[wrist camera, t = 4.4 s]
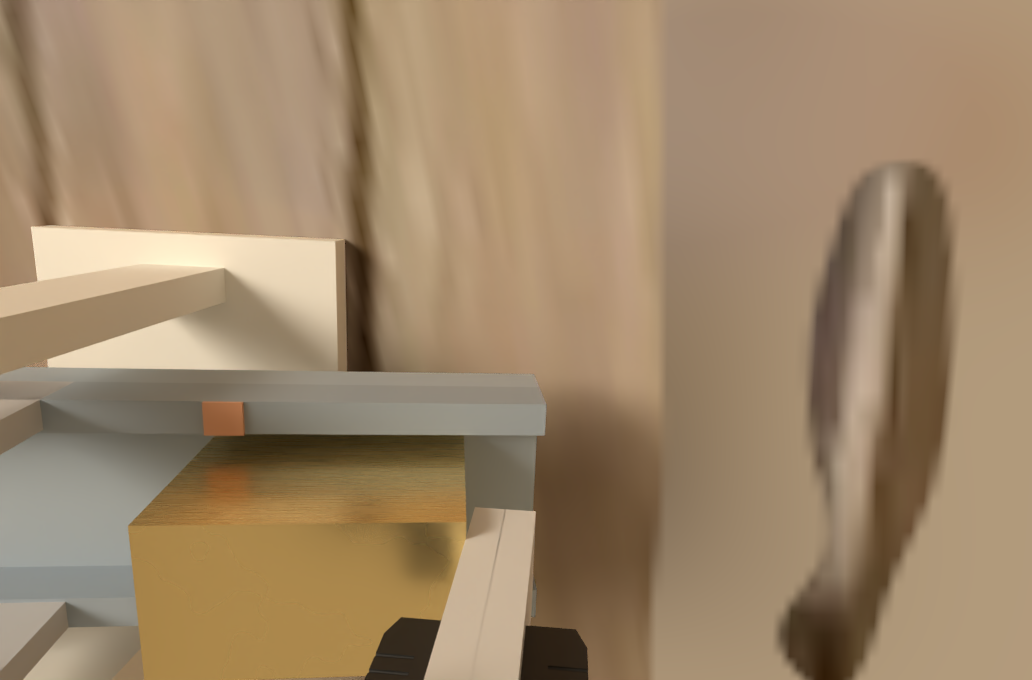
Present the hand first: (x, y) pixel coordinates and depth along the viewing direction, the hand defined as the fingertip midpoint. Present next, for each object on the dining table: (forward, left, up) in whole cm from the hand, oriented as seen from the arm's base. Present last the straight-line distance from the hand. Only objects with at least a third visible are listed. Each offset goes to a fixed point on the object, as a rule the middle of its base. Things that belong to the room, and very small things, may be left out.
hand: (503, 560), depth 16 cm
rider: (0, -5, -3) cm, 6 cm away
